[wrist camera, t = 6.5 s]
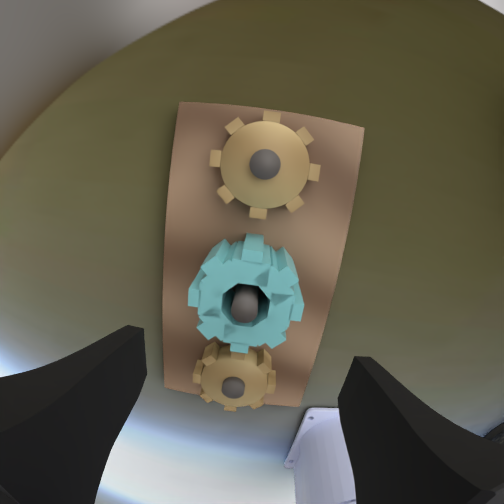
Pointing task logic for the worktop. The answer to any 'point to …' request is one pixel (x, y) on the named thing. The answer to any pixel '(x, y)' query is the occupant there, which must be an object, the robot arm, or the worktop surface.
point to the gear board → (256, 222)
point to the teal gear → (252, 273)
